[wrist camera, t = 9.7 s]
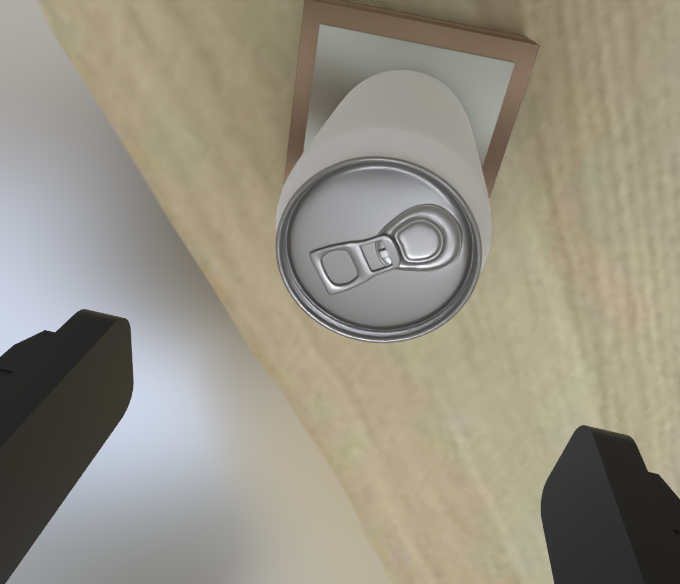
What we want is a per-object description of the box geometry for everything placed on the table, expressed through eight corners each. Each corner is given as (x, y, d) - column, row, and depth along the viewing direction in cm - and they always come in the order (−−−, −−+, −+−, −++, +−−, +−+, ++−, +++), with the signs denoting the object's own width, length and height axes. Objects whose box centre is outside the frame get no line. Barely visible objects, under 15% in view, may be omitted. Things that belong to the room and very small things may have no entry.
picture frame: (321, -4, 26) (303, -1, 22) (525, 36, 25) (541, 46, 22) (296, 189, 31) (279, 217, 27) (465, 225, 31) (470, 258, 27)
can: (488, 181, 25) (527, 323, 15) (362, 225, 27) (319, 376, 17) (444, 41, 22) (454, 96, 12) (307, 102, 24) (217, 193, 14)
